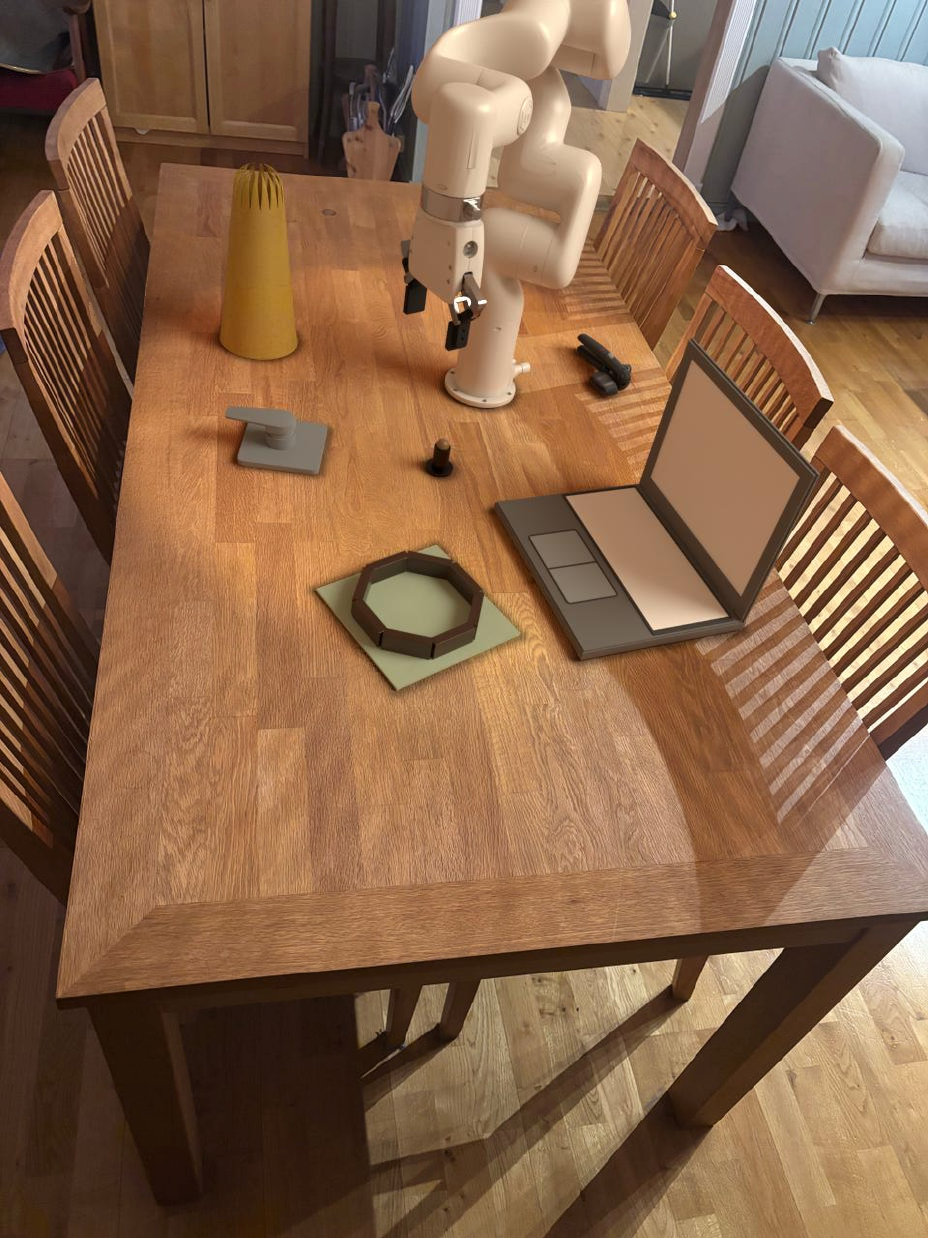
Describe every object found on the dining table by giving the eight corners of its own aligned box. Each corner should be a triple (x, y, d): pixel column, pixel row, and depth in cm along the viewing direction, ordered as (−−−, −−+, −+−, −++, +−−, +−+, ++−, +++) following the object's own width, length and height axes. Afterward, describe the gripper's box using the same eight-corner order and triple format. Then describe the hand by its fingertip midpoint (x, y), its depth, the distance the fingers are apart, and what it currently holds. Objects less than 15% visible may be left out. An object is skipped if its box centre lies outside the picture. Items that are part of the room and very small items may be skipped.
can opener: (634, 399, 177) (643, 372, 173) (601, 402, 175) (609, 375, 171) (594, 347, 188) (601, 321, 184) (562, 349, 186) (568, 322, 182)
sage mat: (436, 546, 141) (436, 544, 141) (520, 635, 131) (520, 633, 131) (315, 590, 131) (315, 588, 131) (396, 690, 121) (397, 688, 121)
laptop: (492, 510, 148) (528, 348, 129) (641, 491, 158) (696, 337, 138) (579, 662, 129) (636, 498, 109) (744, 630, 138) (824, 473, 118)
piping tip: (274, 368, 167) (275, 193, 146) (204, 343, 169) (195, 167, 148) (311, 334, 176) (317, 166, 155) (244, 311, 178) (242, 142, 157)
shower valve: (233, 387, 152) (329, 400, 153) (234, 416, 156) (328, 429, 157) (217, 433, 143) (319, 446, 144) (218, 462, 147) (318, 475, 148)
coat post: (442, 457, 156) (447, 428, 152) (458, 472, 154) (463, 443, 150) (419, 464, 154) (424, 435, 150) (435, 480, 152) (440, 451, 148)
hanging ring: (432, 553, 139) (435, 538, 137) (503, 628, 131) (507, 614, 129) (331, 591, 131) (332, 576, 129) (399, 674, 122) (401, 660, 120)
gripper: (520, 227, 113) (495, 356, 125) (436, 167, 122) (420, 294, 134) (469, 236, 110) (448, 369, 122) (386, 174, 118) (375, 303, 131)
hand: (434, 329), depth 128 cm, fingers open, 9 cm apart
